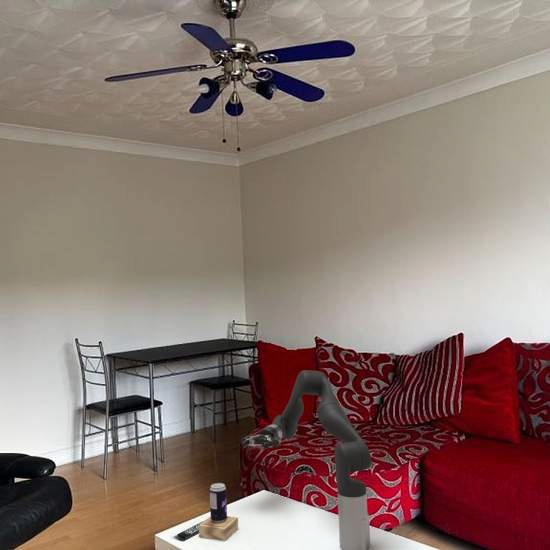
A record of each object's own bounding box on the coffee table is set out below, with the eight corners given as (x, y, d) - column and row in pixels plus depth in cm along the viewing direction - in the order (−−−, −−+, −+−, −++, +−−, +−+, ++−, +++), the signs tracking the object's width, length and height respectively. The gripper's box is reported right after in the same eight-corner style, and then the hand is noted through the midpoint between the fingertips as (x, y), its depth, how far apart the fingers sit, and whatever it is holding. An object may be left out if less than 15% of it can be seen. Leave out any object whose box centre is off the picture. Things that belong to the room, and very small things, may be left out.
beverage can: (224, 523, 195) (223, 488, 195) (208, 523, 196) (207, 487, 196) (229, 517, 200) (228, 482, 201) (213, 516, 201) (212, 482, 202)
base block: (238, 529, 200) (237, 516, 201) (225, 540, 191) (224, 527, 191) (213, 525, 204) (212, 513, 204) (199, 537, 195) (198, 524, 195)
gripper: (253, 425, 228) (236, 434, 213) (286, 427, 223) (271, 436, 208) (253, 444, 228) (236, 455, 213) (287, 446, 223) (272, 457, 208)
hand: (254, 445), depth 211 cm, fingers open, 8 cm apart
